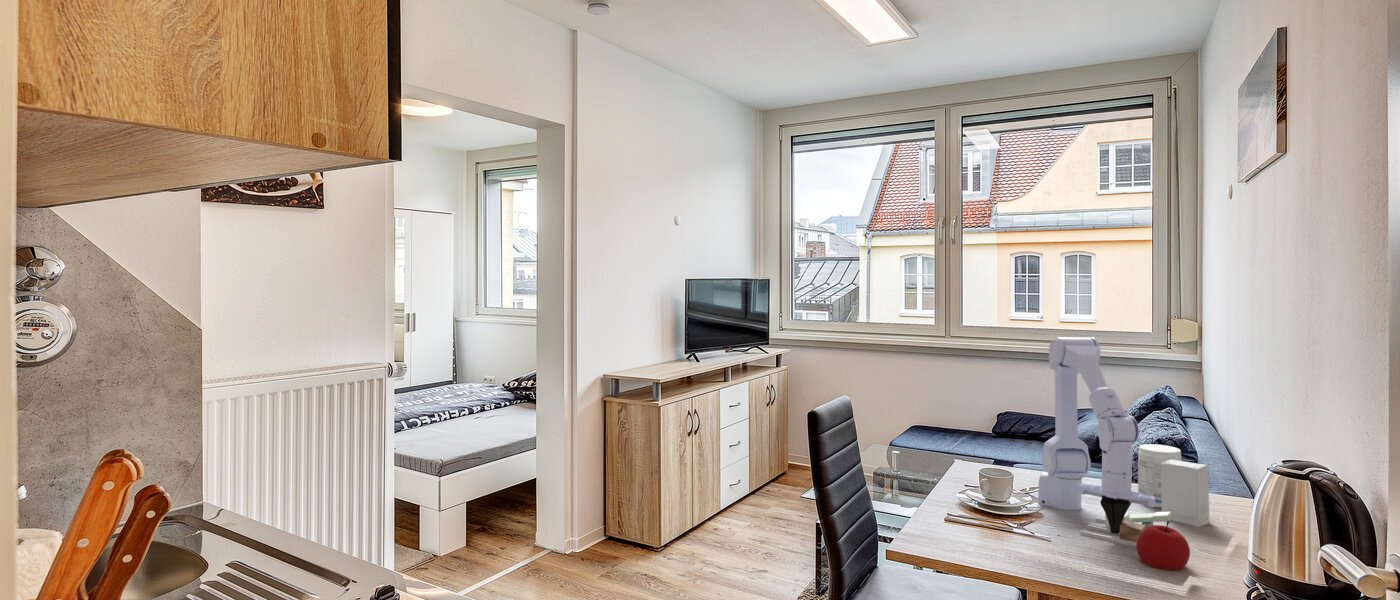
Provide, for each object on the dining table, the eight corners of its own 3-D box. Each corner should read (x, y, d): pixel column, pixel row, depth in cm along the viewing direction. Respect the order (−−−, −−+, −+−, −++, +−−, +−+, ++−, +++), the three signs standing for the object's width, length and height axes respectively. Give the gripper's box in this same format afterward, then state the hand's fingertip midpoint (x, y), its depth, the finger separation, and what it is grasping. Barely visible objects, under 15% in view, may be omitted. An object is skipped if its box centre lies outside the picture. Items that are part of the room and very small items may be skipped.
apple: (1135, 558, 152) (1136, 510, 152) (1187, 566, 148) (1188, 518, 148) (1136, 573, 144) (1137, 523, 144) (1191, 583, 140) (1192, 531, 140)
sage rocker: (1124, 522, 168) (1122, 517, 169) (1128, 518, 171) (1127, 513, 172) (1168, 521, 162) (1167, 515, 163) (1172, 517, 165) (1170, 511, 166)
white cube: (1105, 528, 167) (1105, 513, 167) (1109, 524, 170) (1110, 509, 170) (1124, 532, 164) (1125, 517, 164) (1129, 528, 167) (1129, 513, 167)
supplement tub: (1159, 497, 195) (1160, 443, 195) (1190, 508, 186) (1191, 451, 186) (1128, 499, 193) (1129, 444, 193) (1158, 510, 184) (1159, 452, 184)
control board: (1064, 537, 164) (1064, 524, 164) (1092, 515, 180) (1092, 503, 180) (1168, 561, 151) (1168, 547, 151) (1188, 534, 167) (1188, 522, 167)
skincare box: (1209, 528, 171) (1211, 465, 171) (1197, 532, 168) (1199, 468, 168) (1170, 518, 178) (1172, 457, 178) (1158, 522, 175) (1160, 460, 175)
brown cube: (1119, 541, 158) (1119, 525, 158) (1124, 536, 161) (1124, 520, 161) (1140, 545, 156) (1141, 529, 156) (1145, 541, 159) (1145, 525, 159)
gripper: (1075, 468, 162) (1074, 529, 163) (1150, 481, 153) (1149, 545, 153) (1084, 462, 168) (1083, 521, 168) (1157, 474, 158) (1156, 536, 158)
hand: (1115, 532), depth 161 cm, fingers closed
